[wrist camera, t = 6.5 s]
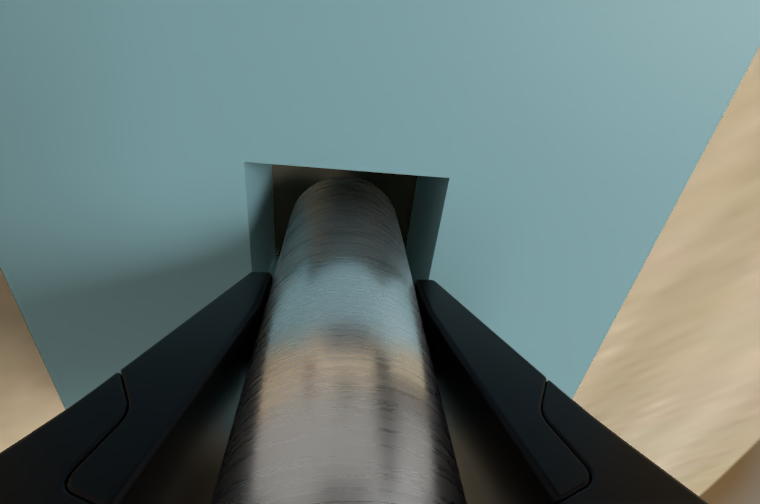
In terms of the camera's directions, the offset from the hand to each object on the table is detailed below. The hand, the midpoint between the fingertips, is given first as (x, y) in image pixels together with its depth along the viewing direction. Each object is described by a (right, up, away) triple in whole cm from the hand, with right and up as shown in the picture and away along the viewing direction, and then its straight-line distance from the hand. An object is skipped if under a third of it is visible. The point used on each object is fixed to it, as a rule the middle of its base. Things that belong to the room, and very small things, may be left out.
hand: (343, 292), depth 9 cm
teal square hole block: (0, +3, +4) cm, 5 cm away
